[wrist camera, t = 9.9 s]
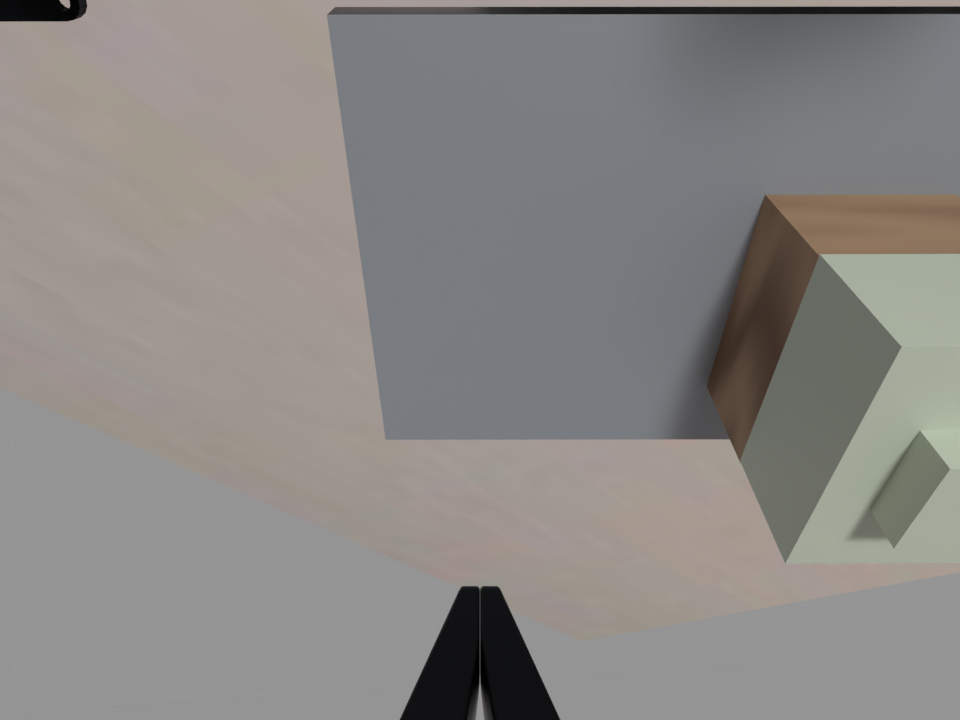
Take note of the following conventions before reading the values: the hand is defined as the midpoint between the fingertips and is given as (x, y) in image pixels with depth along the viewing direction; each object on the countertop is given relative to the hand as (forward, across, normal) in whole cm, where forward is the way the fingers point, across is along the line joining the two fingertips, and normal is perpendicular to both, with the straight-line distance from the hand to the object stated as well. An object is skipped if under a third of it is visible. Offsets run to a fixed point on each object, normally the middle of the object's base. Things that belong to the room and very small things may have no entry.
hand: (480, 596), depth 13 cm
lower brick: (+11, +12, 0) cm, 16 cm away
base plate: (+12, +8, +1) cm, 15 cm away
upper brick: (+7, +12, 0) cm, 14 cm away
